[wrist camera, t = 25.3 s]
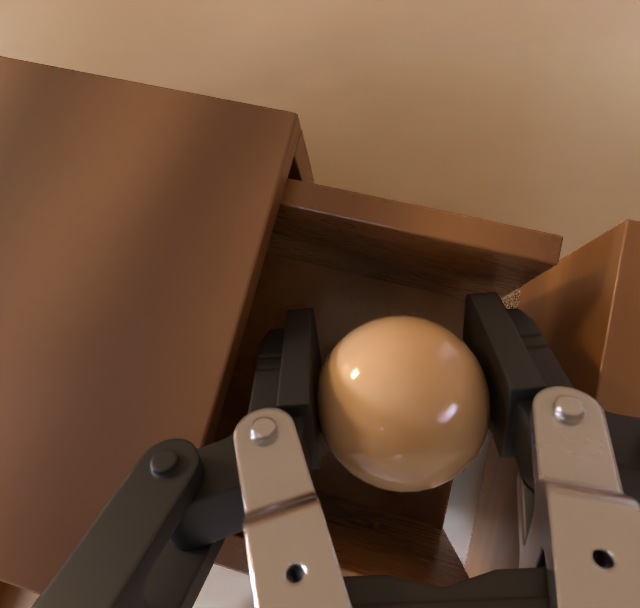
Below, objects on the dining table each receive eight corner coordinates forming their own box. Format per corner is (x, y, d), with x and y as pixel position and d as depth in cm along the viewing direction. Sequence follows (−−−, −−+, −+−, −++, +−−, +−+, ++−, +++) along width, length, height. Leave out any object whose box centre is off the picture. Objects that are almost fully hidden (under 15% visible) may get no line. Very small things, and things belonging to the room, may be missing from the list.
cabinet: (326, 230, 21) (298, 112, 12) (251, 513, 20) (149, 635, 10) (22, 162, 23) (-209, 15, 14) (-70, 414, 22) (-403, 440, 12)
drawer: (670, 315, 19) (886, 270, 11) (622, 617, 17) (833, 810, 9) (218, 213, 21) (135, 118, 13) (141, 471, 20) (-2, 529, 12)
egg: (305, 443, 17) (264, 491, 9) (338, 314, 17) (324, 264, 10) (439, 481, 16) (506, 563, 9) (469, 346, 17) (553, 318, 10)
